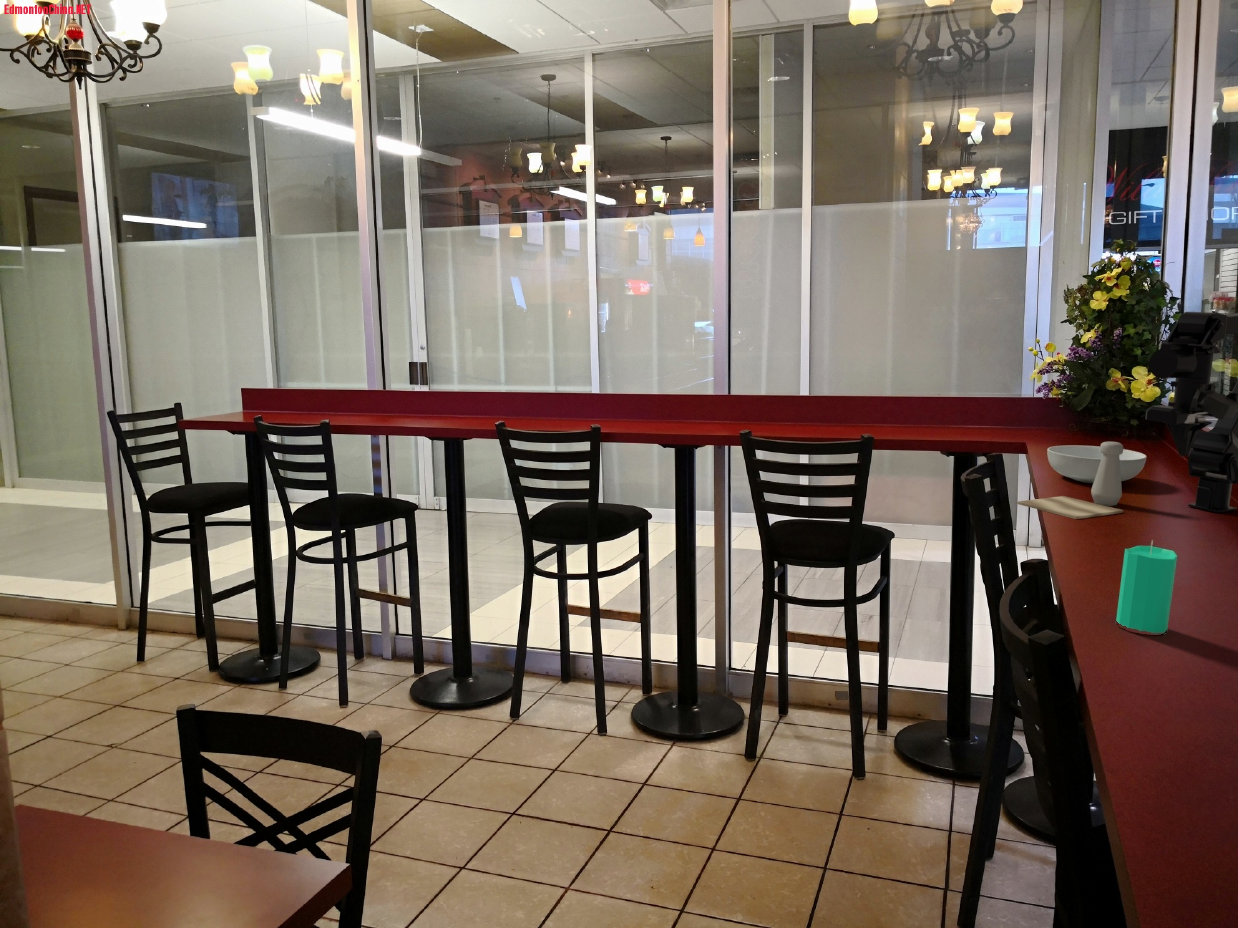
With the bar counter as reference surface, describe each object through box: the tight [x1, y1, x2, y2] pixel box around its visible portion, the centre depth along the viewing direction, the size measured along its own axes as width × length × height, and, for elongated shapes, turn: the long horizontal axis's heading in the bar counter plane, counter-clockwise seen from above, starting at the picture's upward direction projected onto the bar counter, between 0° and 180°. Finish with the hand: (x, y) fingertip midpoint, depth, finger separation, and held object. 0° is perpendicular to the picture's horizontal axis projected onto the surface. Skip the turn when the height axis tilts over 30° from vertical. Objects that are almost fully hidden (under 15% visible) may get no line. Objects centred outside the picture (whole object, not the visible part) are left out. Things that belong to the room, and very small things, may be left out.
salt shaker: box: [1090, 441, 1124, 507], centre depth 200 cm, size 6×6×13 cm
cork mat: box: [1016, 495, 1124, 520], centre depth 197 cm, size 14×14×1 cm
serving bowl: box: [1046, 445, 1147, 484], centre depth 226 cm, size 21×21×7 cm
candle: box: [1115, 539, 1178, 633], centre depth 127 cm, size 6×6×12 cm
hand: (1183, 455), depth 191 cm, fingers closed
